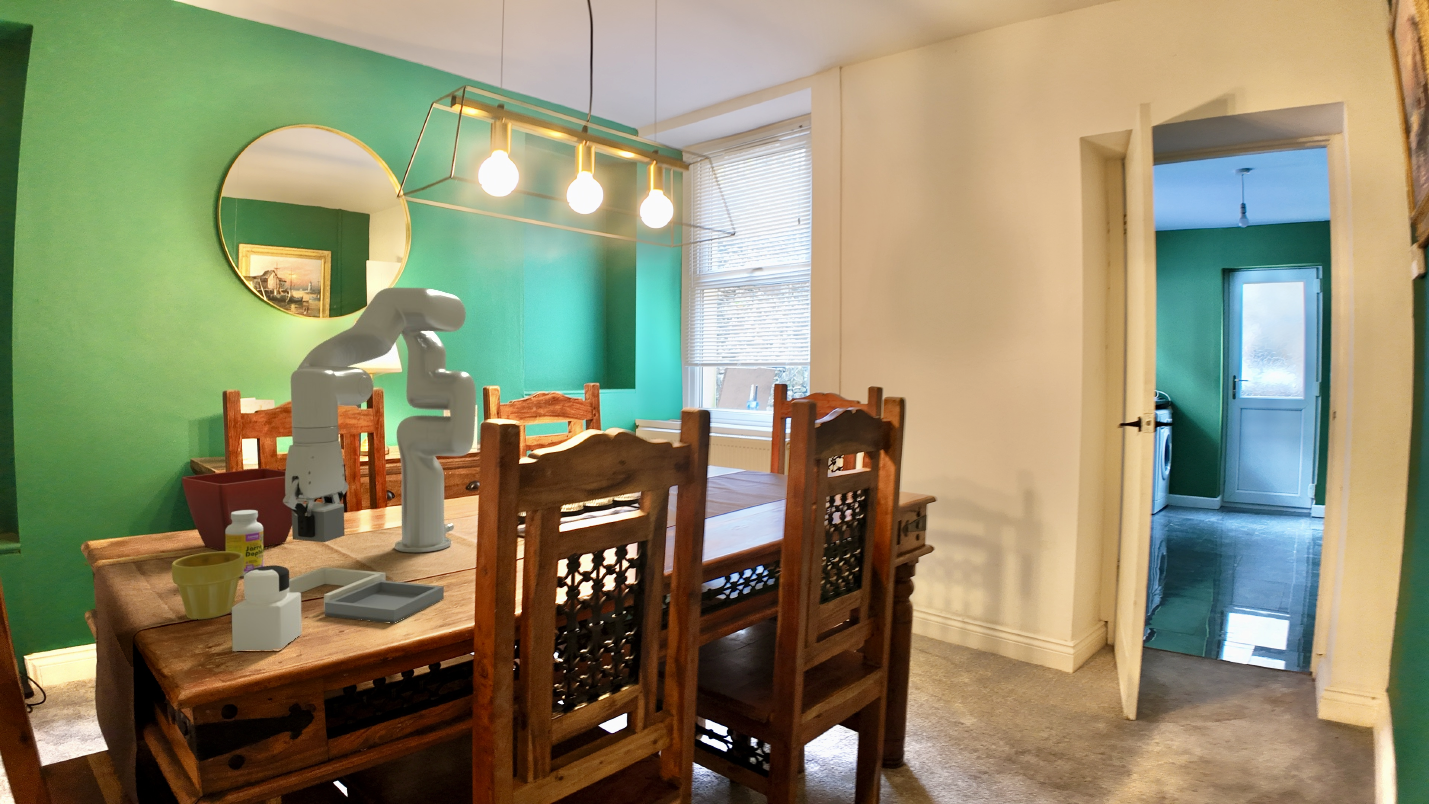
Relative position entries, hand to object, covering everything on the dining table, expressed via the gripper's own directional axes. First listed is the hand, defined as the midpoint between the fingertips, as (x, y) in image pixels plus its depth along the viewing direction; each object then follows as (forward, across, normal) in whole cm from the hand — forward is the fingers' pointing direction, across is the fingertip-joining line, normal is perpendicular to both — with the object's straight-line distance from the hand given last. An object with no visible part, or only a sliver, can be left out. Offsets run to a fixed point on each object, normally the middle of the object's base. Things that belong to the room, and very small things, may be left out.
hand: (318, 531), depth 138 cm
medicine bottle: (+12, +21, +9) cm, 26 cm away
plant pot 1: (+14, -28, -47) cm, 56 cm away
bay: (+13, -1, 0) cm, 13 cm away
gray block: (+1, 0, 0) cm, 1 cm away
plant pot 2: (+13, +13, -12) cm, 21 cm away
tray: (+13, +1, +15) cm, 20 cm away
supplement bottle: (+13, -9, -27) cm, 31 cm away
